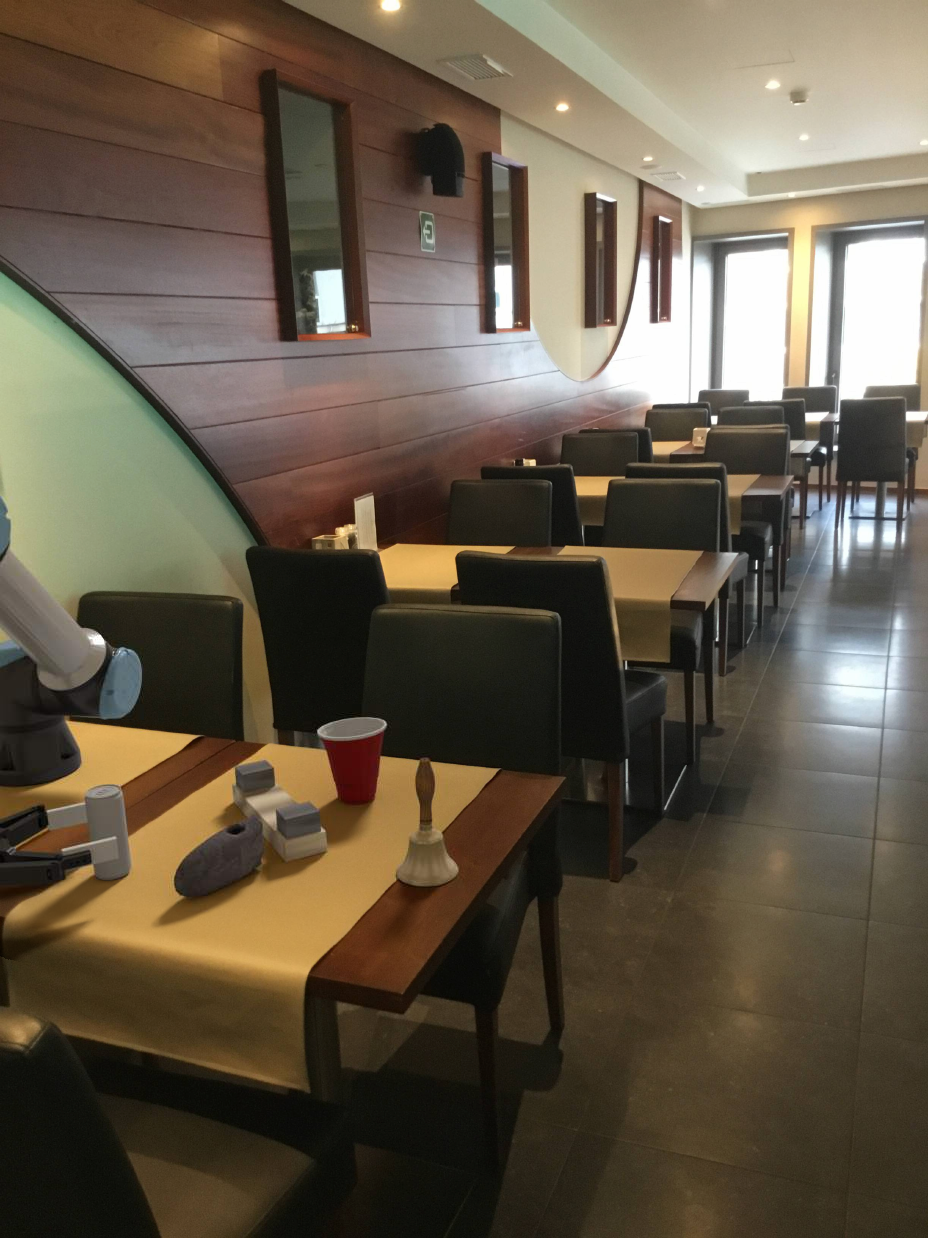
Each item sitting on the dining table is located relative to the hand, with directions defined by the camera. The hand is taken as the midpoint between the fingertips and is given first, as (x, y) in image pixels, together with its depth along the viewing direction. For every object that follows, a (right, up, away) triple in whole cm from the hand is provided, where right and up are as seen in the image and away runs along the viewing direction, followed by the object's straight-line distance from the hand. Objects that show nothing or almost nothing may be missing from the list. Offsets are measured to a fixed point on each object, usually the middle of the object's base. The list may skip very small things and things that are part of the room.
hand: (107, 827), depth 134 cm
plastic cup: (+31, 0, +24) cm, 39 cm away
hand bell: (+43, -6, 0) cm, 43 cm away
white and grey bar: (+20, -3, +15) cm, 25 cm away
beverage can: (0, -7, +2) cm, 7 cm away
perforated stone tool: (+16, -7, -1) cm, 17 cm away
